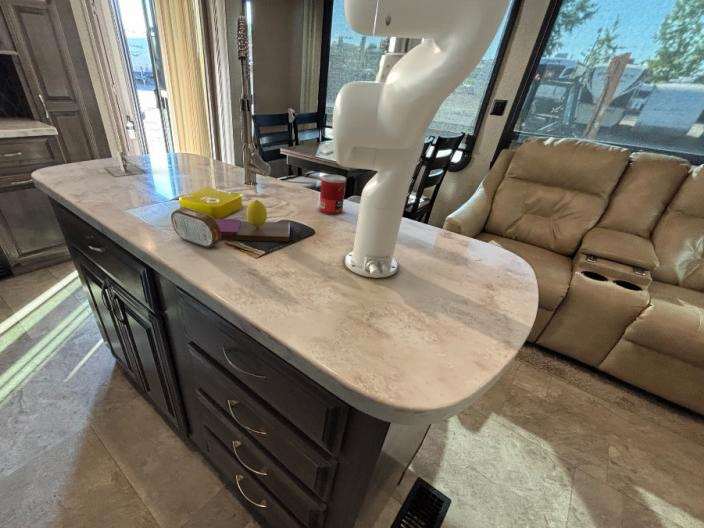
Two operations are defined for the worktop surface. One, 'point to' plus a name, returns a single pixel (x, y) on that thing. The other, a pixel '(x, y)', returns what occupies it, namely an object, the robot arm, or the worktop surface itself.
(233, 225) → the plum cloth
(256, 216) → the lemon
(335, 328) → the worktop surface
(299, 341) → the worktop surface
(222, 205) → the element tile
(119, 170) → the architectural model
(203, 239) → the tin
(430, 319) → the worktop surface
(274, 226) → the serving board
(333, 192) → the canned food
